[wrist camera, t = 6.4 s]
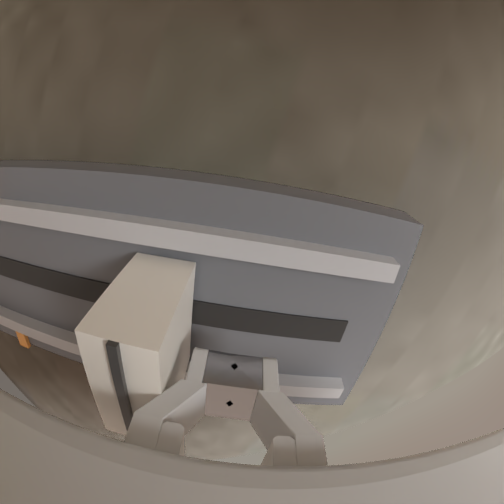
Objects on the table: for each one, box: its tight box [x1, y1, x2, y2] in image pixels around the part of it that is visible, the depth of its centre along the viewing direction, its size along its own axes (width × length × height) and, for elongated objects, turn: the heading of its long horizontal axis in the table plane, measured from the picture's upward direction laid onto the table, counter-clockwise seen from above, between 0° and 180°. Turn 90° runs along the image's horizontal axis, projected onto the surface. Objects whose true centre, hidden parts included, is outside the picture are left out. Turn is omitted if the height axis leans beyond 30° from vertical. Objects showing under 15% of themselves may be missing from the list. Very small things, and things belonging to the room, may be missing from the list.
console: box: [0, 160, 424, 405], centre depth 13 cm, size 28×11×3 cm, turn 81°
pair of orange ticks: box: [16, 331, 31, 349], centre depth 12 cm, size 1×11×1 cm, turn 171°
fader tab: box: [74, 253, 196, 435], centre depth 10 cm, size 2×5×5 cm, turn 171°
